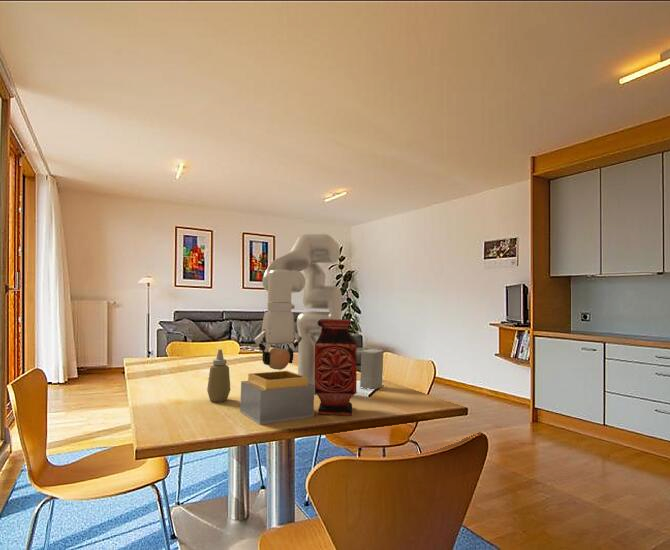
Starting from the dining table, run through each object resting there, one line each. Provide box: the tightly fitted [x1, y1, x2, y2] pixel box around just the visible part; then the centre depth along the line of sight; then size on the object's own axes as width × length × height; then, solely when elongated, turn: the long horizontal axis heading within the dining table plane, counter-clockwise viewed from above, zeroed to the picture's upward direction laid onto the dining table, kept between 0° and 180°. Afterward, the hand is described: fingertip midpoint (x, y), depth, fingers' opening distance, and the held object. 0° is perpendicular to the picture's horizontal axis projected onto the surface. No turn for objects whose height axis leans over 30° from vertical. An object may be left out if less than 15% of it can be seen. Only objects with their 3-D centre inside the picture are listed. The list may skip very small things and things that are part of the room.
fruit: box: [268, 344, 290, 371], centre depth 144 cm, size 8×7×8 cm
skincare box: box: [359, 348, 384, 390], centre depth 189 cm, size 8×7×16 cm
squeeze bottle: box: [206, 348, 231, 403], centre depth 161 cm, size 8×8×18 cm
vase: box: [314, 319, 358, 416], centre depth 150 cm, size 14×14×30 cm
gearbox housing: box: [239, 370, 315, 425], centre depth 143 cm, size 18×16×12 cm
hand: (277, 363), depth 144 cm, fingers closed on fruit, 7 cm apart
